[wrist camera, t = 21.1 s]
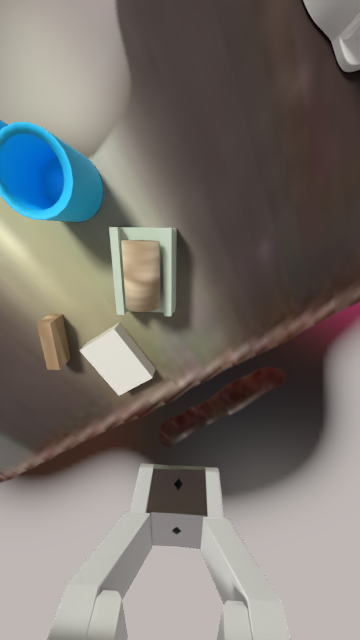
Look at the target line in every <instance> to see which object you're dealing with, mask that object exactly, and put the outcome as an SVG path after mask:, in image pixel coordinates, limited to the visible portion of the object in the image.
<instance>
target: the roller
mask: <svg viewBox="0 0 360 640" xmlns="http://www.w3.org/2000/svg"><path fill="white" fill-rule="evenodd" d="M121 245H122V259H123V273H124V288H125V302H126V308H127V309H128V310H130V311H134V312H149V311H154V310H157V309H159V308H160V241H153V240H123V241H121Z"/></svg>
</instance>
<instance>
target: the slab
mask: <svg viewBox="0 0 360 640" xmlns="http://www.w3.org/2000/svg"><path fill="white" fill-rule="evenodd" d="M80 352H81V353H82V354H83V355H84V356H85V357H86V359H87V360H88V361H89V362H90V363H91V364H92V365H93V367H94V368H95V369H96V370H97V371H98V372H99V373H100V375H101V376H102V377H103V378H104V379H105V380H106V381H107V383H108V384H109V385H110V386H111V387H112V388H113V389H114V391H115V392H116V393H117V394H118V395H121V394H123V393H125V392H127V391H129V390H131V389H132V388H134V387H136V386H138V385H140V384H142V383H144V382H146V381H148V380H150V379H152V378H153V375H154V372H155V368H154V366H153V365H152V364H151V363H150V361H149V360H148V359H147V357H146V356H145V355H144V354H143V352H142V351H141V350H140V348H139V347H138V346H137V345H136V343H135V342H134V341H133V339H132V338H131V337H130V336H129V334H128V333H127V332H126V330H125V329H124V328H123V327H122V325H121V324H120V323H118V324H116V325H115V326H113V327H112V328H110V329H108V330H107V331H105V332H104V333H102V334H100V335H99V336H97V337H95V338H94V339H92V340H91V341H89V342H87V343H86V344H85V345H84V346H83V347H82V349H81V350H80Z"/></svg>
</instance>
